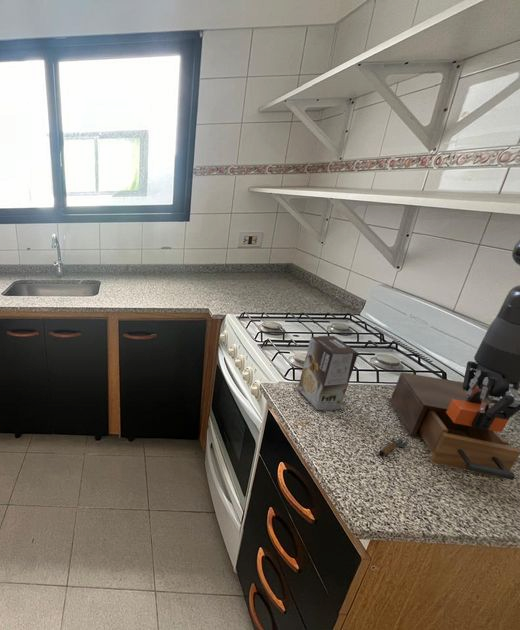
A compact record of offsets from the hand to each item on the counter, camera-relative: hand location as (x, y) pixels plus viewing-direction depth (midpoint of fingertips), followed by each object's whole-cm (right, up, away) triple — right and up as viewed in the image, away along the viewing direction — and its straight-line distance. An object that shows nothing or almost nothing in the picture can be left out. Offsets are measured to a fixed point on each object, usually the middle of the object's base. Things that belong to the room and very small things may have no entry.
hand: (473, 421), depth 68 cm
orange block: (0, 0, 0) cm, 0 cm away
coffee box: (-17, -1, +22) cm, 28 cm away
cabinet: (+4, -5, +13) cm, 14 cm away
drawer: (0, -8, +3) cm, 9 cm away
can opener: (-11, -8, +6) cm, 15 cm away
